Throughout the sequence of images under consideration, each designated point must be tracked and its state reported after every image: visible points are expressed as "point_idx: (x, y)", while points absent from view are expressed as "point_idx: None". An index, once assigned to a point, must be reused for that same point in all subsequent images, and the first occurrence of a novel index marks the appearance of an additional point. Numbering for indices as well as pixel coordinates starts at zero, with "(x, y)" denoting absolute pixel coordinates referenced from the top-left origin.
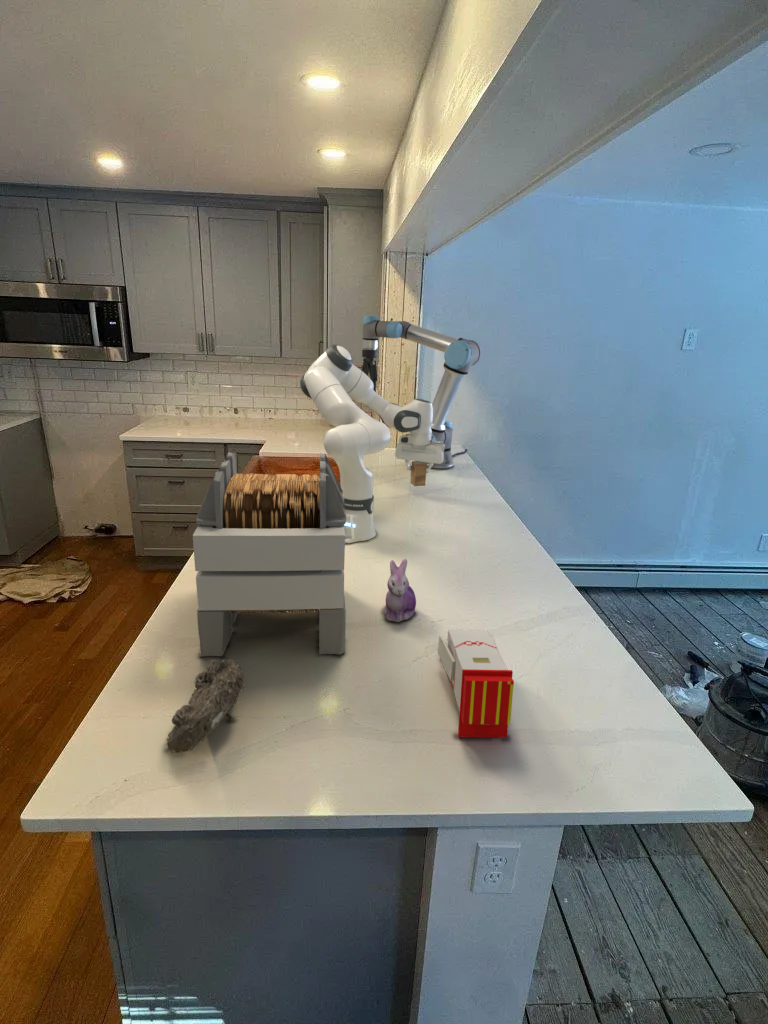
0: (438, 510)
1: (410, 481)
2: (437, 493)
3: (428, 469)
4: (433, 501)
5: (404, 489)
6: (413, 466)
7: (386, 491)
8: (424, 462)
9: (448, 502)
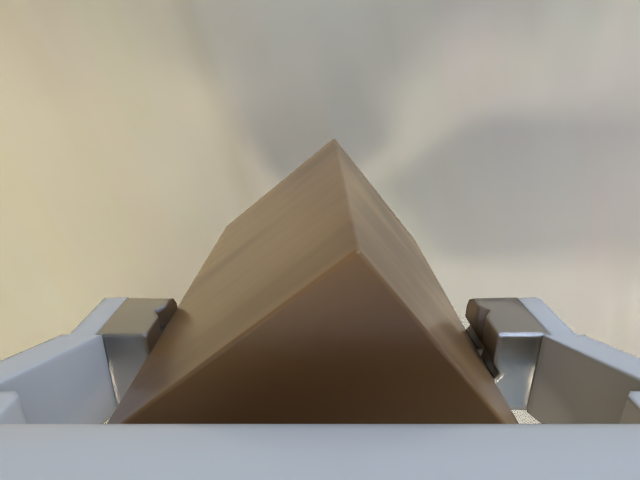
0: (537, 421)
1: (221, 235)
2: (497, 6)
3: (537, 404)
4: (483, 265)
5: (133, 31)
6: None
7: (18, 182)
8: (467, 407)
9: (612, 236)
